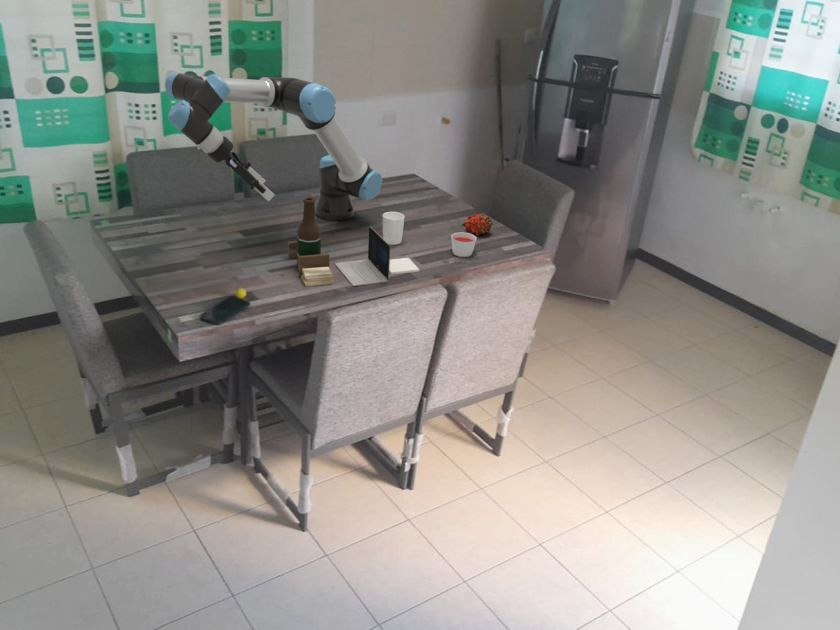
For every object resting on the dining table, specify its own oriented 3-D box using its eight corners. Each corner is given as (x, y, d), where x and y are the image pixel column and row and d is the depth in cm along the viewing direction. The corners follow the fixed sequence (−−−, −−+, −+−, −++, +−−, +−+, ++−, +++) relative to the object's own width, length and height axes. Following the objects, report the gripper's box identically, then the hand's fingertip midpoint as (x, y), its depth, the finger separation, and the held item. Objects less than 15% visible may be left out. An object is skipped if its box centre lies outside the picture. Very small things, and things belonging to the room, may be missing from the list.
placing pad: (381, 262, 271) (381, 260, 271) (408, 259, 274) (408, 257, 274) (391, 274, 263) (391, 272, 262) (419, 271, 266) (419, 269, 266)
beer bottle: (311, 260, 269) (311, 193, 257) (325, 268, 264) (326, 200, 253) (292, 265, 264) (291, 197, 252) (306, 274, 259) (306, 204, 248)
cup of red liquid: (477, 258, 280) (479, 242, 277) (452, 258, 278) (454, 242, 275) (471, 248, 287) (473, 232, 284) (447, 248, 286) (449, 232, 283)
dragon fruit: (493, 238, 301) (462, 242, 300) (489, 219, 305) (458, 223, 304) (495, 226, 294) (464, 230, 293) (491, 207, 297) (460, 211, 296)
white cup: (400, 246, 284) (401, 220, 280) (379, 243, 285) (380, 217, 281) (405, 238, 291) (406, 213, 286) (384, 235, 292) (385, 210, 288)
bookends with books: (288, 258, 269) (288, 239, 266) (316, 255, 272) (316, 236, 269) (304, 286, 251) (304, 266, 247) (335, 283, 254) (335, 263, 251)
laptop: (334, 265, 267) (335, 229, 261) (368, 260, 272) (370, 225, 266) (353, 287, 253) (354, 250, 247) (389, 282, 258) (391, 246, 252)
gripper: (200, 142, 244) (250, 186, 256) (213, 166, 224) (266, 213, 236) (217, 124, 243) (266, 169, 256) (231, 147, 223) (284, 195, 235)
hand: (266, 190), depth 246 cm, fingers open, 13 cm apart
